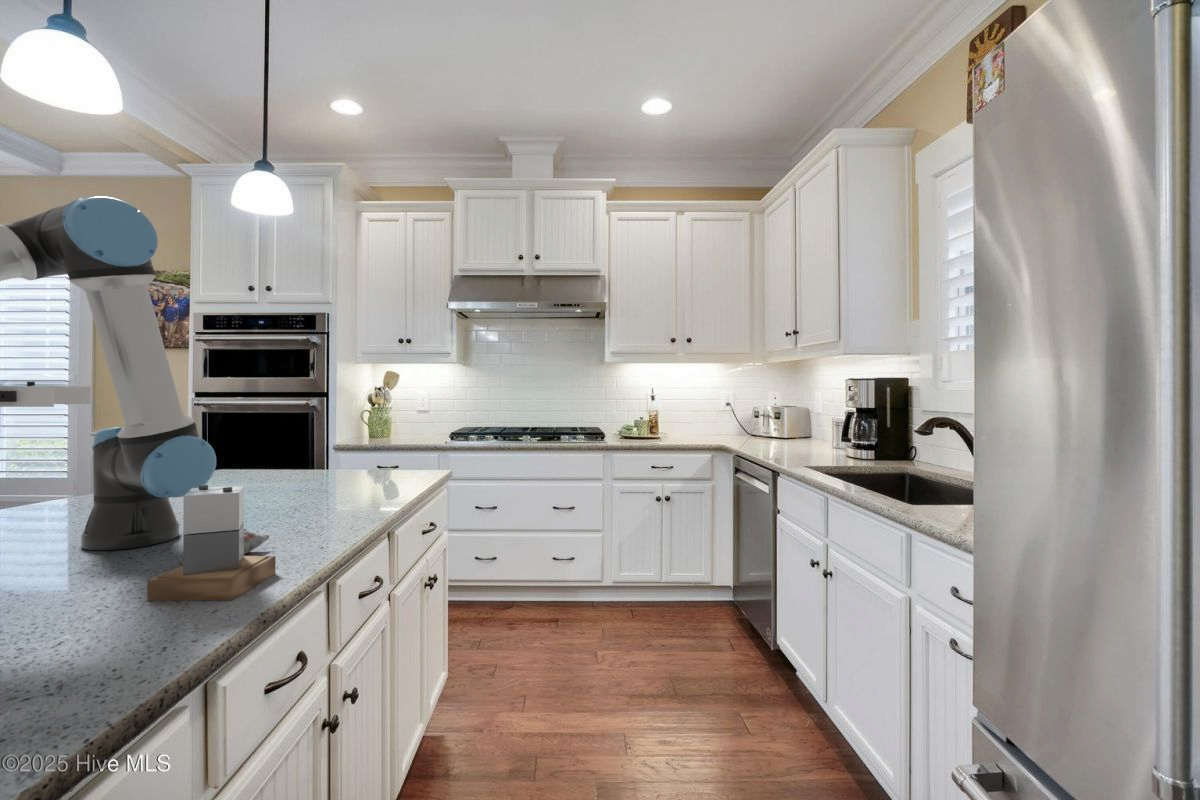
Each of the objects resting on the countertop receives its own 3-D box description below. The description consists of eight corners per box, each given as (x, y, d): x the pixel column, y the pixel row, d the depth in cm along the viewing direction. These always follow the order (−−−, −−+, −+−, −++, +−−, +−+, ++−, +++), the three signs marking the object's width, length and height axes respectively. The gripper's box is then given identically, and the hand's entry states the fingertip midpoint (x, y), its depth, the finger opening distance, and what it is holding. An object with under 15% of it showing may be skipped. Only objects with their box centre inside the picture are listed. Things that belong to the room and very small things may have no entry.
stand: (202, 573, 93) (202, 554, 93) (275, 573, 93) (275, 554, 93) (147, 600, 81) (147, 578, 81) (231, 600, 81) (231, 578, 81)
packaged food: (269, 549, 108) (268, 524, 108) (234, 569, 96) (234, 541, 96) (222, 550, 107) (221, 525, 107) (181, 570, 95) (181, 542, 95)
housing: (191, 562, 89) (192, 484, 88) (243, 556, 92) (243, 481, 92) (183, 575, 82) (183, 491, 82) (238, 569, 86) (239, 488, 85)
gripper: (-87, 418, 81) (101, 417, 90) (-239, 430, 59) (33, 427, 68) (-88, 367, 80) (102, 371, 90) (-239, 360, 58) (33, 367, 68)
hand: (73, 395), depth 79 cm, fingers open, 13 cm apart
